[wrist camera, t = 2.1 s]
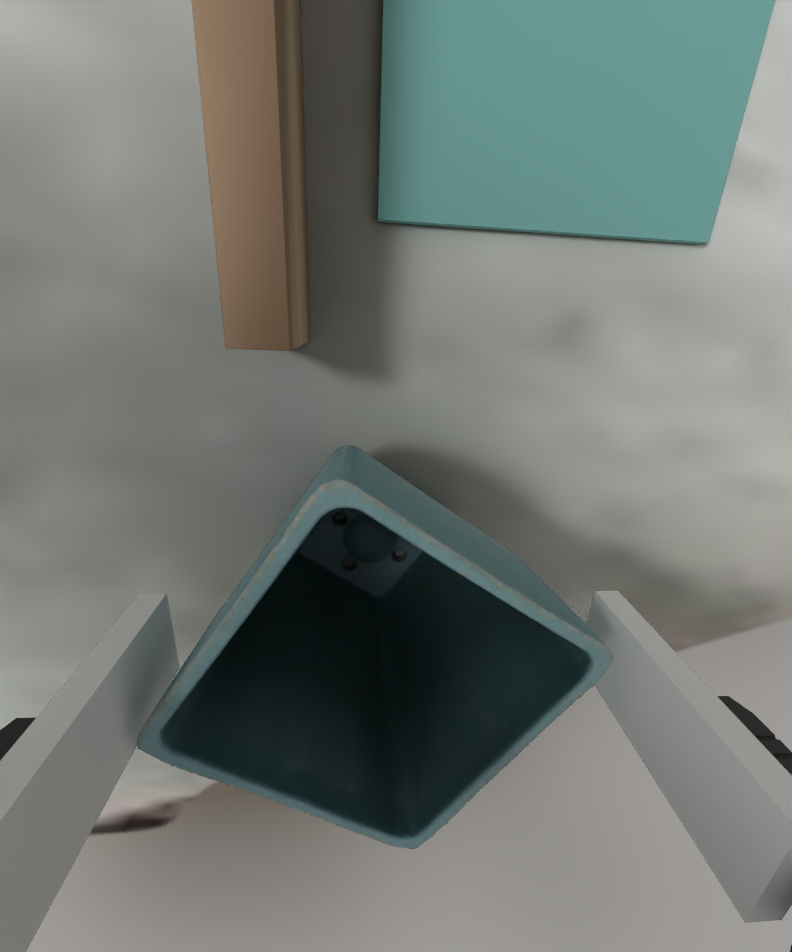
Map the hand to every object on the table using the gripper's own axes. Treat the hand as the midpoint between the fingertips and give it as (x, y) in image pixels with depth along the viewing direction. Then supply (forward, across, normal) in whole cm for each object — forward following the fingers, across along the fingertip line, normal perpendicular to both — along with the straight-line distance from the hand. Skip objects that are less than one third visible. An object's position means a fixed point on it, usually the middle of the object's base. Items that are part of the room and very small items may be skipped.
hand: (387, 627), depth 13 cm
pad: (+6, +6, +18) cm, 20 cm away
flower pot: (+6, 0, 0) cm, 6 cm away
